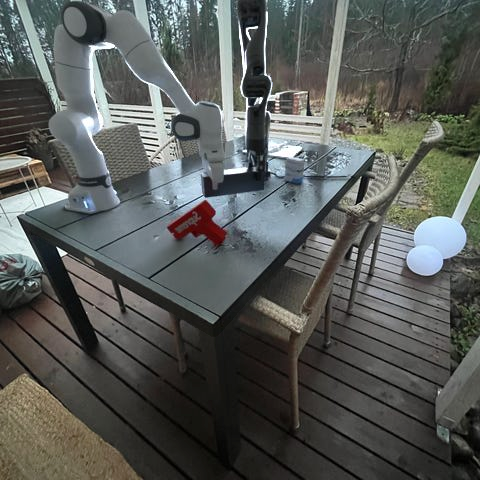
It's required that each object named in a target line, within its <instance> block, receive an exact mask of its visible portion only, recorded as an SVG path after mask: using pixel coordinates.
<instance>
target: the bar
mask: <svg viewBox="0 0 480 480" xmlns="http://www.w3.org/2000/svg"><path fill="white" fill-rule="evenodd" d="M255 176H256V170H255V167H248V166H247V167H240V168H239V167H238V168H231V169H224V179H223V182H221V183H218V184H217V189H216V190H213V188H212V180H211V178H210V177H209V175H208V174H207V172H206V171H202V172H200V180H201V182H200V185H201V193H202V195H203V197H204V198H205V199H207V198H208V199H209V198H216V197H222V196H231V195H237V194H238V195H239V194H245V193H252V192H261V191H265V183H266V179H265V170H264V171H263V172H261V181H256V180H255Z"/></svg>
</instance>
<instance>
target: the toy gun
mask: <svg viewBox="0 0 480 480" xmlns="http://www.w3.org/2000/svg"><path fill="white" fill-rule="evenodd" d="M216 214H217V211H216V209H215V208H214V207H213V206H212V204H210V203H209V202H208V200H207V199H204V200H202V201H200V202H199V203H198V204H196V205H195V206H193V207H192V208H190V209H189V210H187V211H186V212H185V213H183V214H182V215H180V216H179V217H177V218H175V219H174V220H173V221H172V222H171V223H170V224H168V225H167V226H166V229H167V230H168V231H169V232H170V234H172V236H173V238H174V239H175V240H181V239H183V238H184V237H186V236H188V235H189V234H192V236H193V237H194V238H198V237H200V236H202V235H203V236H204V237H205V238H207V239H208V240H209V241H210V242H212V243H213V246H214V247H216V248H217V246H218V245H223V243H224V242H225V240H226V239H227V237H226V236H227V234H228V231H226V229H224V228H223V227H221V226H220V225H218V224H217V223H216V222H215V221H214V220H213V219H214V217H215V216H216Z"/></svg>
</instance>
